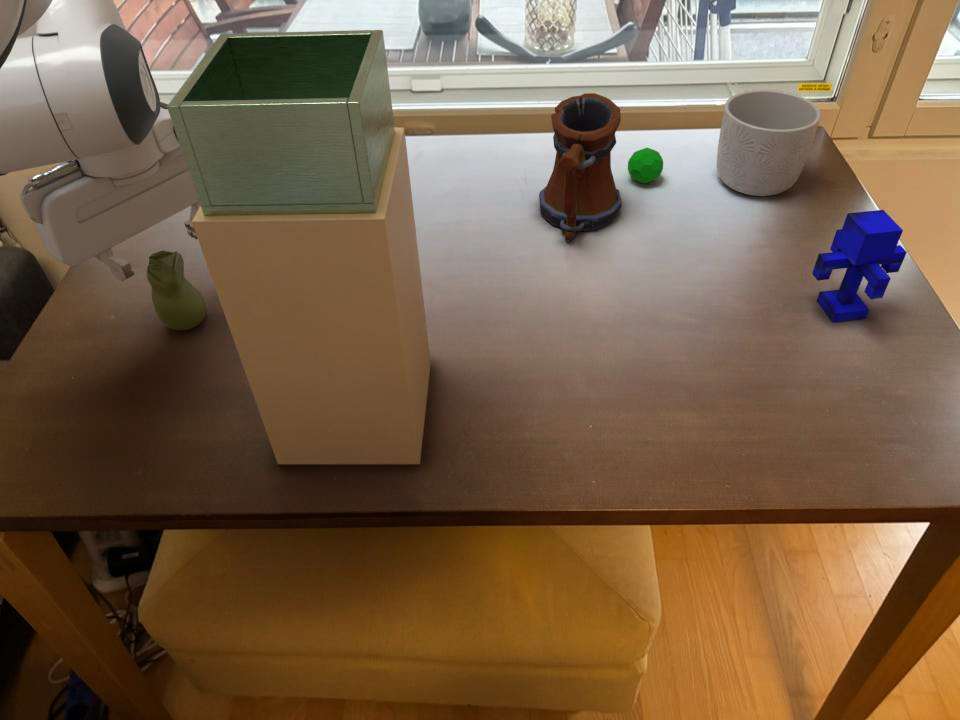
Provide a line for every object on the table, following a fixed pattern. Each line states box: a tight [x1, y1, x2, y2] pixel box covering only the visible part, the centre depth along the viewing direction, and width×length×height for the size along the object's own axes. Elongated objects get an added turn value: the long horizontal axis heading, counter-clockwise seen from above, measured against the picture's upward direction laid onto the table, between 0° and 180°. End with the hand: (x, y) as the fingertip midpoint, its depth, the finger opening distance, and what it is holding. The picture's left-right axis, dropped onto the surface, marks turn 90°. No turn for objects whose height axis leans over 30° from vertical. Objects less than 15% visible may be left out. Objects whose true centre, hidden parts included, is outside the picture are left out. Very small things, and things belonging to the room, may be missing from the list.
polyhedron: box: [627, 147, 664, 184], centre depth 107 cm, size 5×5×5 cm
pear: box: [146, 250, 207, 331], centre depth 85 cm, size 6×5×10 cm
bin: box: [167, 29, 431, 465], centre depth 65 cm, size 14×14×36 cm
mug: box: [538, 92, 623, 242], centre depth 96 cm, size 18×12×15 cm, turn 164°
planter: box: [716, 89, 822, 197], centre depth 104 cm, size 12×12×11 cm
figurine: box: [811, 209, 908, 323], centre depth 83 cm, size 8×8×12 cm
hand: (163, 255), depth 82 cm, fingers open, 8 cm apart
